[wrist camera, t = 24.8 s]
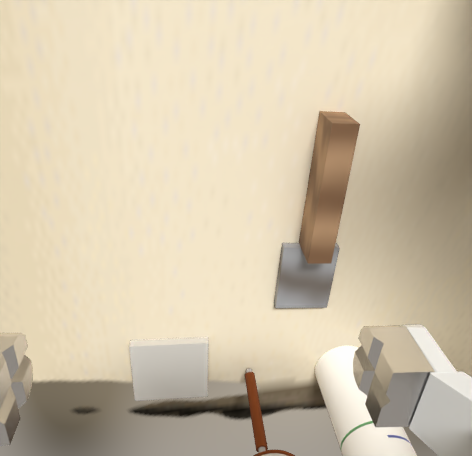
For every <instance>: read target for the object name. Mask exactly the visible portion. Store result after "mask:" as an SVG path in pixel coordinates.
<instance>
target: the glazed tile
mask: <svg viewBox="0 0 472 456" xmlns="http://www.w3.org/2000/svg"><path fill="white" fill-rule="evenodd" d="M129 349H130V359H131V368H132V378H133V388H134V397H135V401H143V400H161V399H178V398H196V397H208V337H193V338H168V339H143V340H130V345H129Z"/></svg>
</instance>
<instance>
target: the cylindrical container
mask: <svg viewBox="0 0 472 456" xmlns="http://www.w3.org/2000/svg"><path fill="white" fill-rule="evenodd" d="M358 348H359V347H355V346H340V347H336V348H334V349H331V350H329V351H327V352H326V353H325V354H323V355H322V356H321V357H320V358H319V360H318V361H317V363H316V365H315V375H316V378H317V381H318V384H319V387H320V390H321V393H322V396H323V399H324V402H325V405H326V407H327V410H328V413H329V416H330V419H331V422H332V425H333V428H334V431H335V434H336V437H337V440H338V443H339V446H340V449H341V452H342V455H343V456H417V454H416V452H415V450H414V448H413V447H412V444H411V442H410V440H409V438H408V436H407V434H406V432H405V430H404V428H403V427H375V426H374V423H373V421H372V419H371V416H370V414H369V412H368V410H367V407H366V405H365V403H366V399H367V395H365V394H364V393H363V392H362V391H360V390H359V389H358V386H357V384H356V381H355V378H354V374H353V358H354V354H355V351H356V350H357V349H358Z"/></svg>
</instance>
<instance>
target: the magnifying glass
mask: <svg viewBox="0 0 472 456" xmlns="http://www.w3.org/2000/svg"><path fill="white" fill-rule="evenodd" d="M245 380H246V386H247V393H248V399H249V406H250V412H251V419H252V425H253V432H254V438H255V445H256V451H257V452H259V453H258V454H256V455H254V456H295V455H293V454H291V453H289V452H286V451H282V450H267V449H268V448H267V442H266V436H265V431H264V426H263V420H262V414H261V408H260V403H259V397H258V392H257V386H256V380H255V375H254V373H253V372H252V369H250V368H248V369H247V370H246V374H245Z"/></svg>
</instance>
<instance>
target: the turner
mask: <svg viewBox="0 0 472 456" xmlns="http://www.w3.org/2000/svg"><path fill="white" fill-rule="evenodd" d="M359 126H360V124H359V123H358V122H356V121H355V120H354V119H353V118H351V117H350V116H349V115H348V114H346V113H345V112H323V111H320V112H319V119H318V125H317V131H316V138H315V144H314V150H313V156H312V163H311V169H310V175H309V182H308V188H307V194H306V201H305V207H304V213H303V219H302V226H301V232H300V238H299V243H282V248H281V255H280V263H279V270H278V277H277V285H276V292H275V299H274V305H275V308H323V307H327V304H328V300H329V295H330V290H331V285H332V281H333V276H334V271H335V267H336V262H337V257H338V252H339V246H338V245H337V243H336V238H337V233H338V229H339V224H340V219H341V214H342V209H343V204H344V199H345V194H346V190H347V185H348V180H349V175H350V170H351V165H352V160H353V155H354V151H355V146H356V141H357V136H358V131H359Z"/></svg>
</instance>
